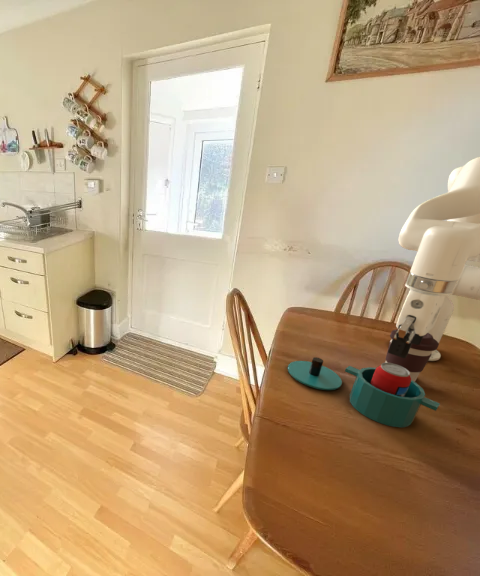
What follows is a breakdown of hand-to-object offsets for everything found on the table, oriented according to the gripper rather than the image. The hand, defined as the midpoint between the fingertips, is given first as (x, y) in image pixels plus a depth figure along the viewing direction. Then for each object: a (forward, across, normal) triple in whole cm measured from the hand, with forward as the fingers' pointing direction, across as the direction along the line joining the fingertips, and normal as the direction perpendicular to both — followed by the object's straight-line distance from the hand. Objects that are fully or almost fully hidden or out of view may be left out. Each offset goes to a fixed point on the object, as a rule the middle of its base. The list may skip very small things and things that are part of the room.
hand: (403, 348), depth 76 cm
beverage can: (+18, -1, 0) cm, 18 cm away
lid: (+18, -1, +16) cm, 24 cm away
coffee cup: (+19, +21, +2) cm, 28 cm away
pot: (+18, -1, 0) cm, 18 cm away
